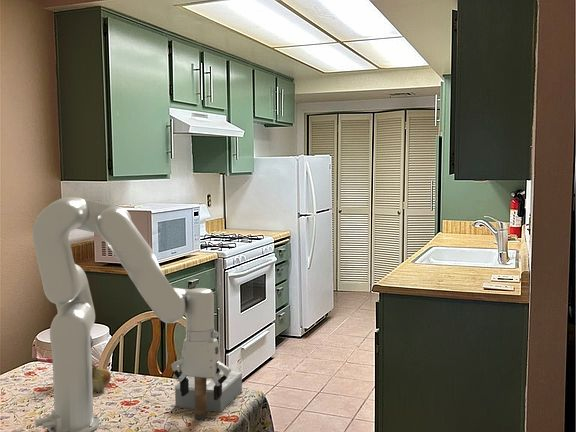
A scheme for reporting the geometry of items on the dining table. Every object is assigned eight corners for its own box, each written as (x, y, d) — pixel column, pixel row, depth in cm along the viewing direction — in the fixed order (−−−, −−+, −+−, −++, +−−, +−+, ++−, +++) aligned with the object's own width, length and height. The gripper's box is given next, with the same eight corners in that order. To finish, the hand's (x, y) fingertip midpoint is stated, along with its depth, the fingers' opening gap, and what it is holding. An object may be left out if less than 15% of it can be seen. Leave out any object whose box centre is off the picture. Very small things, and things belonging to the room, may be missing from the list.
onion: (102, 395, 175) (101, 369, 174) (78, 393, 177) (77, 367, 176) (115, 386, 182) (115, 361, 181) (93, 384, 184) (92, 359, 184)
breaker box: (220, 412, 163) (220, 390, 162) (175, 406, 167) (175, 385, 166) (241, 391, 178) (241, 371, 178) (200, 386, 182) (199, 367, 182)
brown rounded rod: (198, 420, 157) (197, 377, 156) (193, 416, 160) (192, 373, 159) (208, 417, 159) (208, 374, 158) (203, 413, 162) (203, 371, 161)
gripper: (235, 333, 159) (235, 395, 160) (177, 328, 164) (178, 388, 165) (224, 341, 151) (224, 405, 153) (164, 335, 157) (165, 398, 158)
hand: (201, 396), depth 159 cm, fingers open, 9 cm apart
